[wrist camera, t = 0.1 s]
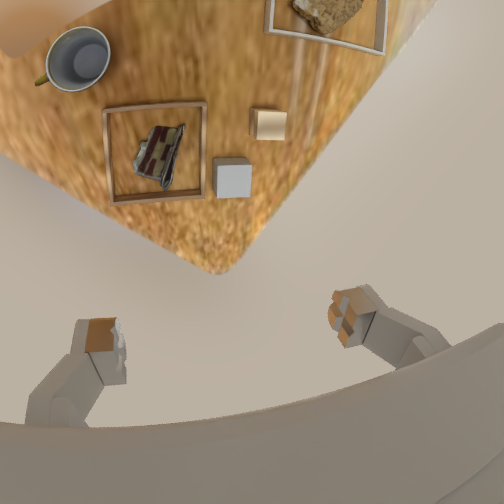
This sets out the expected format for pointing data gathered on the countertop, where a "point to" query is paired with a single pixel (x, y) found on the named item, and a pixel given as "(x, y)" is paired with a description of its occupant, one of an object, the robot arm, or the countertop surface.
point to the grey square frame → (378, 48)
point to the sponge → (327, 12)
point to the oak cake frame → (157, 195)
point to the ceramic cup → (77, 59)
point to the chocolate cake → (159, 155)
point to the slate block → (231, 177)
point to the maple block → (267, 124)
